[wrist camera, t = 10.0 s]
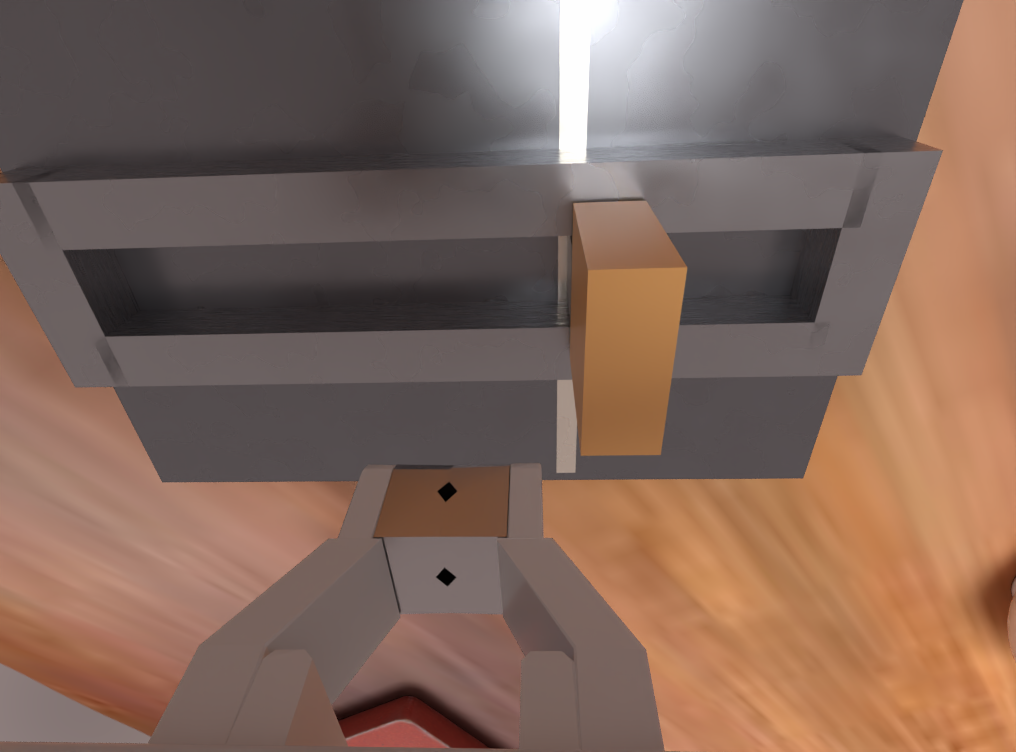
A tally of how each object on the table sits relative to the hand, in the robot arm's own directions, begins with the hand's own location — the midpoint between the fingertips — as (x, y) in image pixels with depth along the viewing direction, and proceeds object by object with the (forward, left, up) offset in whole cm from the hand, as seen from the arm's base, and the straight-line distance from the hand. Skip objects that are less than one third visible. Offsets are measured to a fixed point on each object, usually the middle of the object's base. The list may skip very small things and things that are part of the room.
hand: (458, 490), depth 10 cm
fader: (+4, 0, -11) cm, 11 cm away
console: (-1, 0, -13) cm, 13 cm away
